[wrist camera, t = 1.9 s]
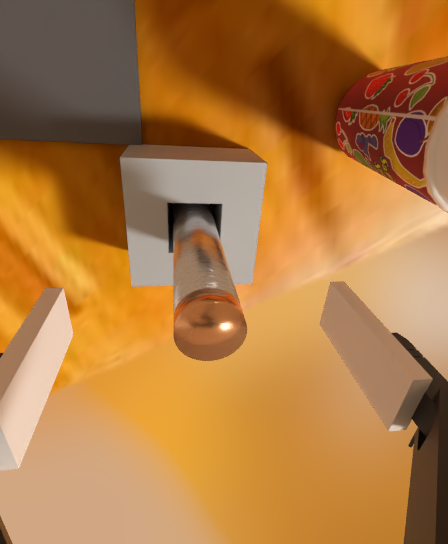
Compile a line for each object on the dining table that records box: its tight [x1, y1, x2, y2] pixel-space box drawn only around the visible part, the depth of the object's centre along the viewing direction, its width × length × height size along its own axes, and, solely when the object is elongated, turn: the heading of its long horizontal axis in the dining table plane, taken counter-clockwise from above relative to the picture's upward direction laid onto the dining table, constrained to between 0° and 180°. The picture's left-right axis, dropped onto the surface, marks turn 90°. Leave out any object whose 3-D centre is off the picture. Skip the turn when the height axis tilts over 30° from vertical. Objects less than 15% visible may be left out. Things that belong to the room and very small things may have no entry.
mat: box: [0, 0, 143, 145], centre depth 22 cm, size 12×12×1 cm
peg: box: [173, 203, 247, 361], centre depth 22 cm, size 3×3×18 cm
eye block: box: [120, 144, 267, 286], centre depth 27 cm, size 10×10×6 cm
